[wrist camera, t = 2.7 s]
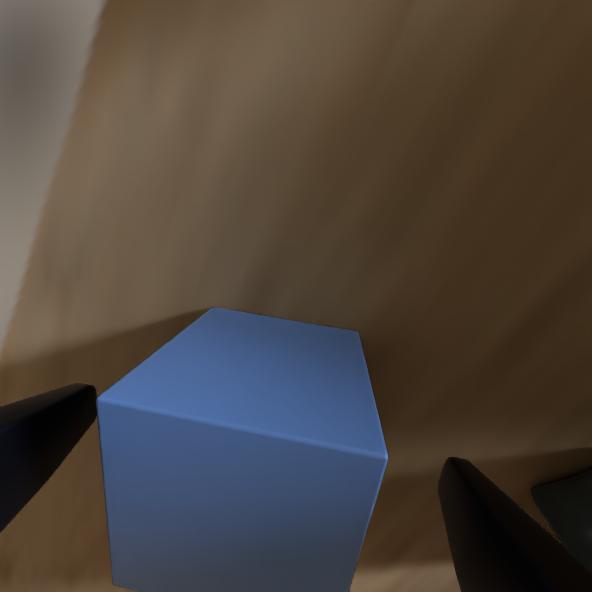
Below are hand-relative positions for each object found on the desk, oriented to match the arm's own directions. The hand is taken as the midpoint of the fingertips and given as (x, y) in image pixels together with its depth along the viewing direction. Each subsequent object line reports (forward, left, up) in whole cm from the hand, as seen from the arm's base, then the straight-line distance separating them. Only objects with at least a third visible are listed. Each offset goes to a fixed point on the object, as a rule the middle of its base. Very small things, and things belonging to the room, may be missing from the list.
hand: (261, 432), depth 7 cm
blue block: (0, 0, -2) cm, 2 cm away
